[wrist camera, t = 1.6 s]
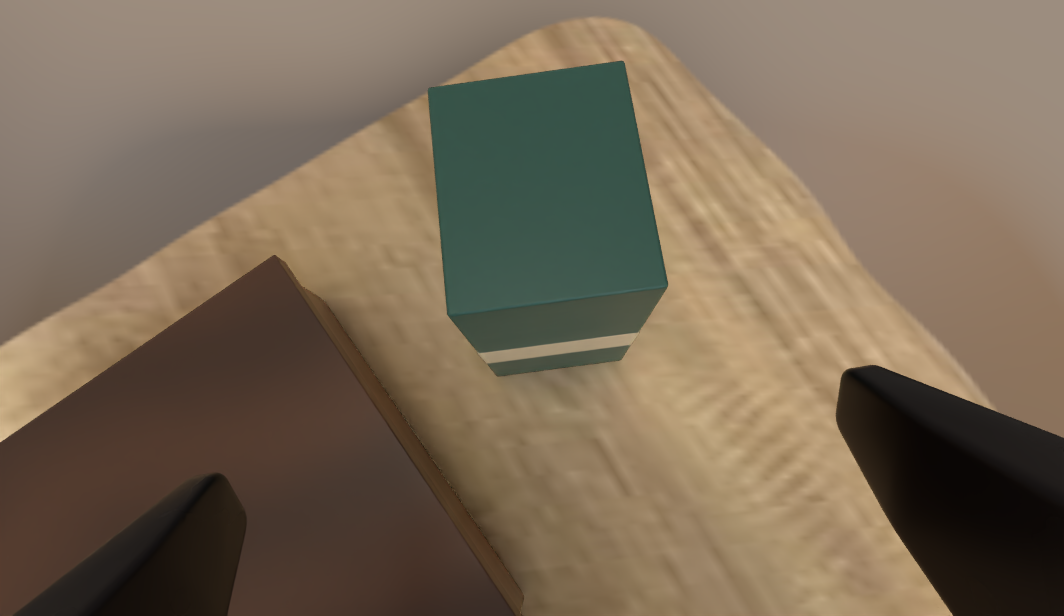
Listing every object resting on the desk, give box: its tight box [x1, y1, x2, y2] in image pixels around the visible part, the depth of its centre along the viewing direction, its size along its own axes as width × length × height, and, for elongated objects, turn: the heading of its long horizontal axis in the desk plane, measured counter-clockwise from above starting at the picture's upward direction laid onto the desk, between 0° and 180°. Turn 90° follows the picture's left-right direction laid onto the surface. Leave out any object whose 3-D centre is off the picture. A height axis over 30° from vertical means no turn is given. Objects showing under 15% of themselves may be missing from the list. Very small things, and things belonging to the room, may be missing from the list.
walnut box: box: [0, 255, 524, 616], centre depth 19 cm, size 15×14×4 cm
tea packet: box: [428, 61, 668, 376], centre depth 18 cm, size 5×6×10 cm
